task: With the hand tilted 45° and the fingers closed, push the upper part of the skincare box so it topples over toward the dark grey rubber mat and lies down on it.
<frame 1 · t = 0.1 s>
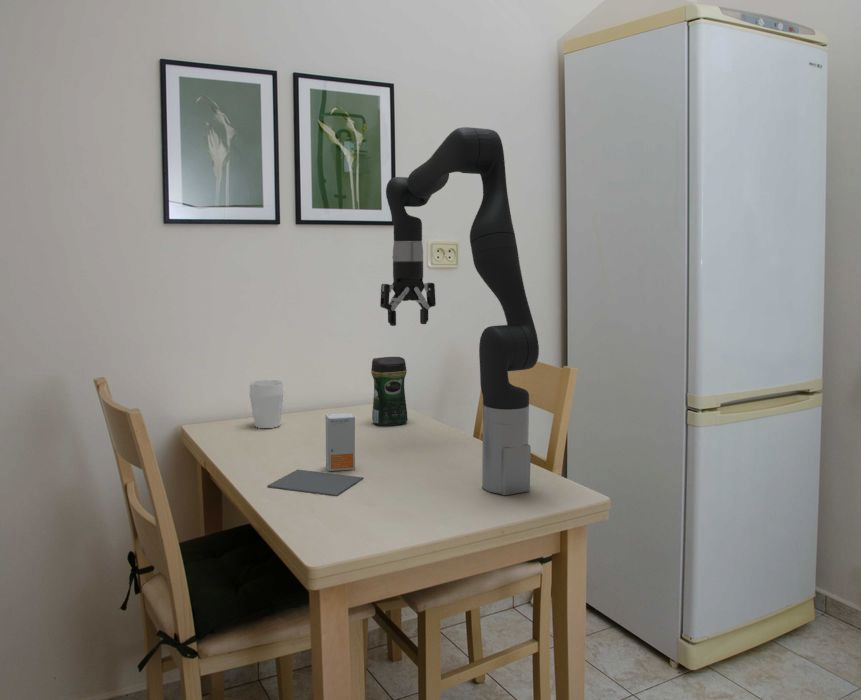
hand: (408, 324, 189), 29 cm above the table, tool pointing down, fingers open, 8 cm apart
coffee jar: (389, 423, 209), on the table
skincare box: (340, 469, 167), on the table
cup: (267, 426, 206), on the table
mat: (316, 482, 157), on the table
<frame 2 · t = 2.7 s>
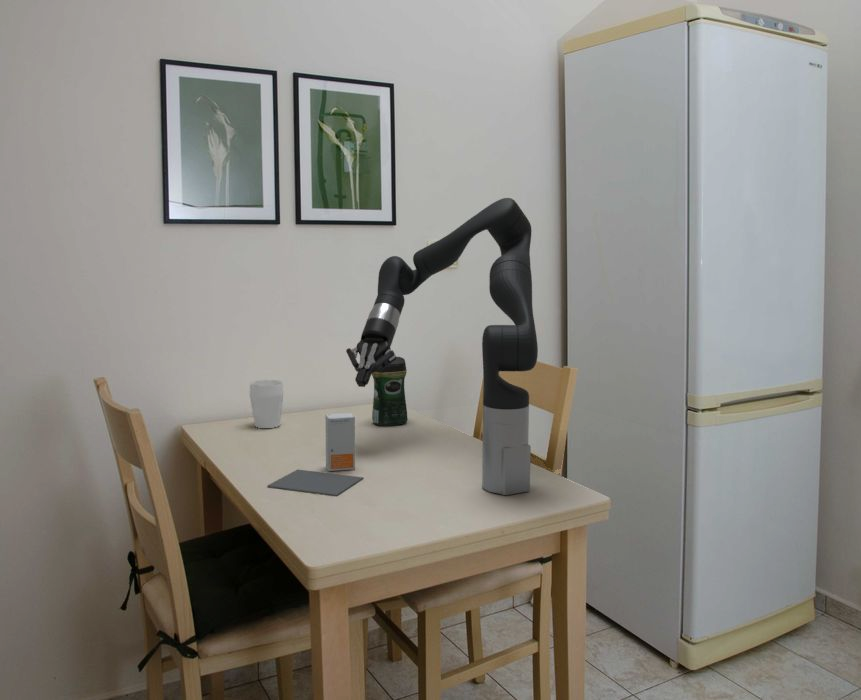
hand: (360, 384, 174), 17 cm above the table, tool tilted 45°, fingers closed
nothing on the table moved.
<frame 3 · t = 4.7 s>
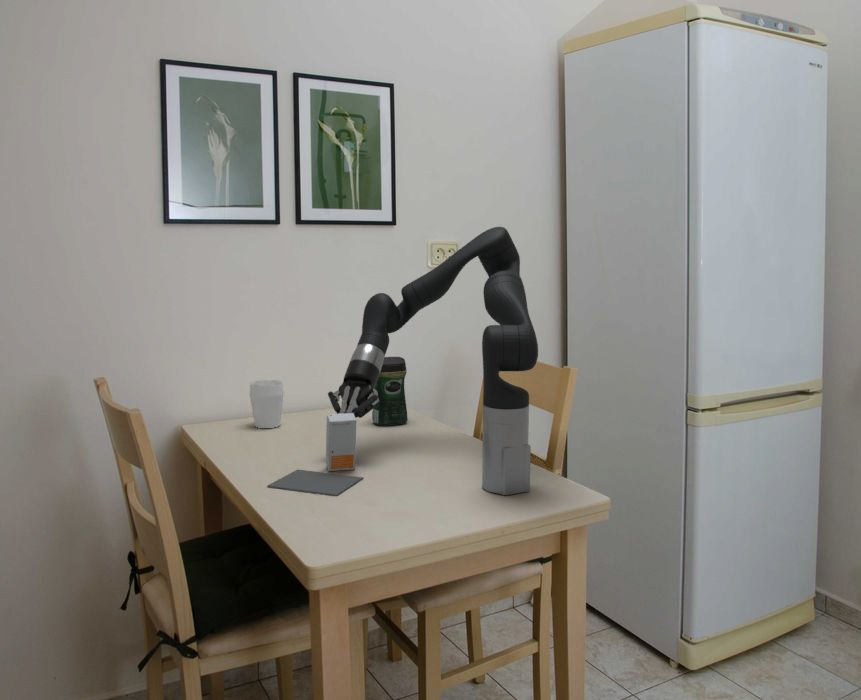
hand: (341, 430, 167), 8 cm above the table, tool tilted 45°, fingers closed
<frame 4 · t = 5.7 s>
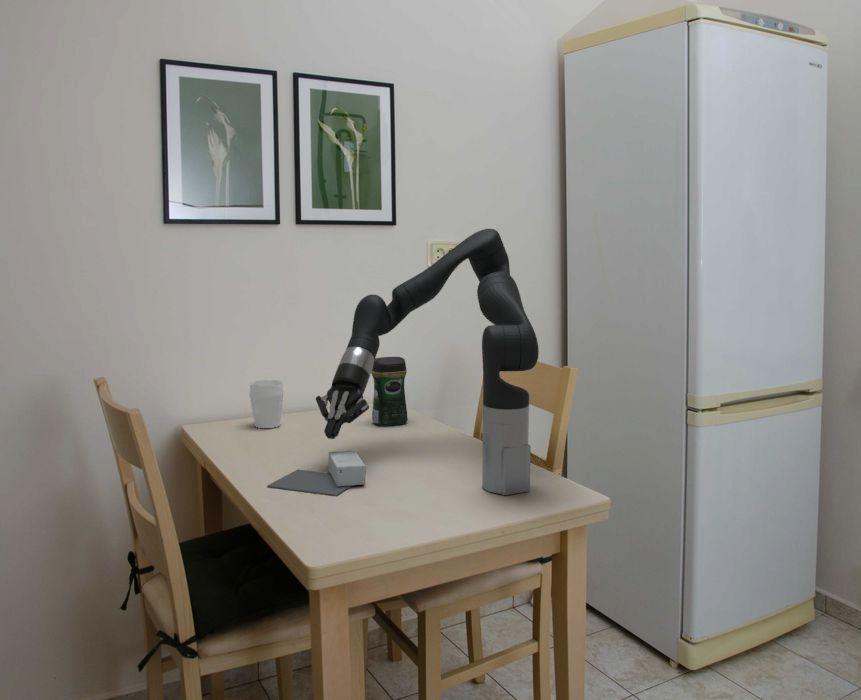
hand: (329, 436, 162), 8 cm above the table, tool tilted 45°, fingers closed
skincare box: (342, 459, 165), point 2 cm above the table, touching mat
everything else where it was.
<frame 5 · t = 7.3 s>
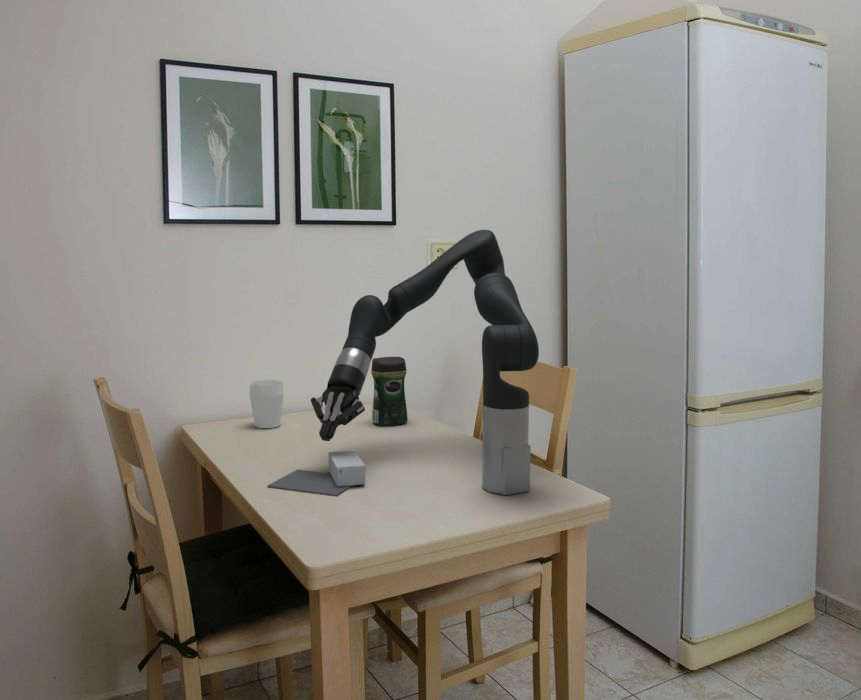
hand: (324, 439, 159), 8 cm above the table, tool tilted 45°, fingers closed
nothing on the table moved.
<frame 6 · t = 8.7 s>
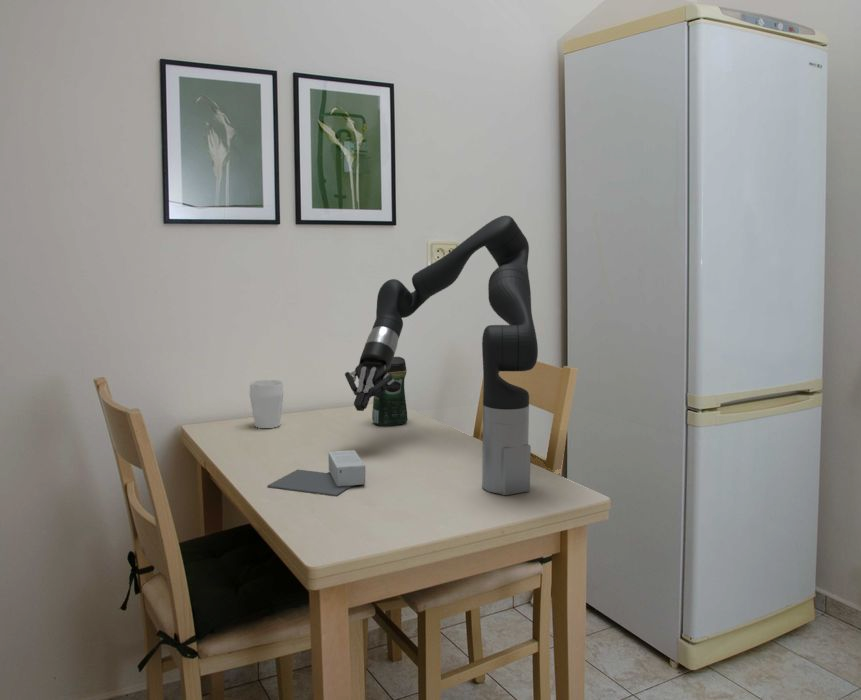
hand: (358, 408, 174), 11 cm above the table, tool tilted 45°, fingers closed
nothing on the table moved.
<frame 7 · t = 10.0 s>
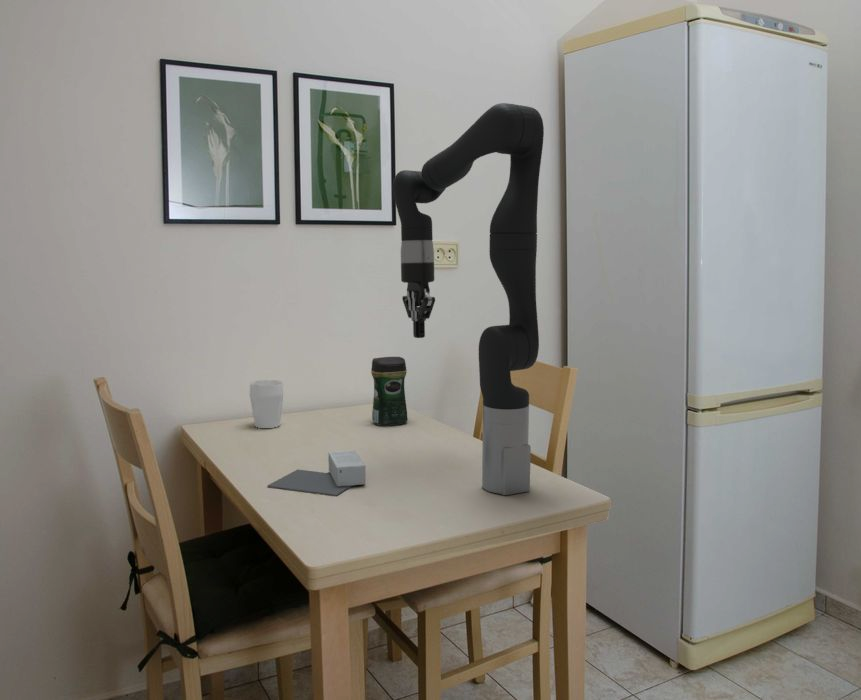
hand: (419, 337, 172), 28 cm above the table, tool pointing down, fingers closed
nothing on the table moved.
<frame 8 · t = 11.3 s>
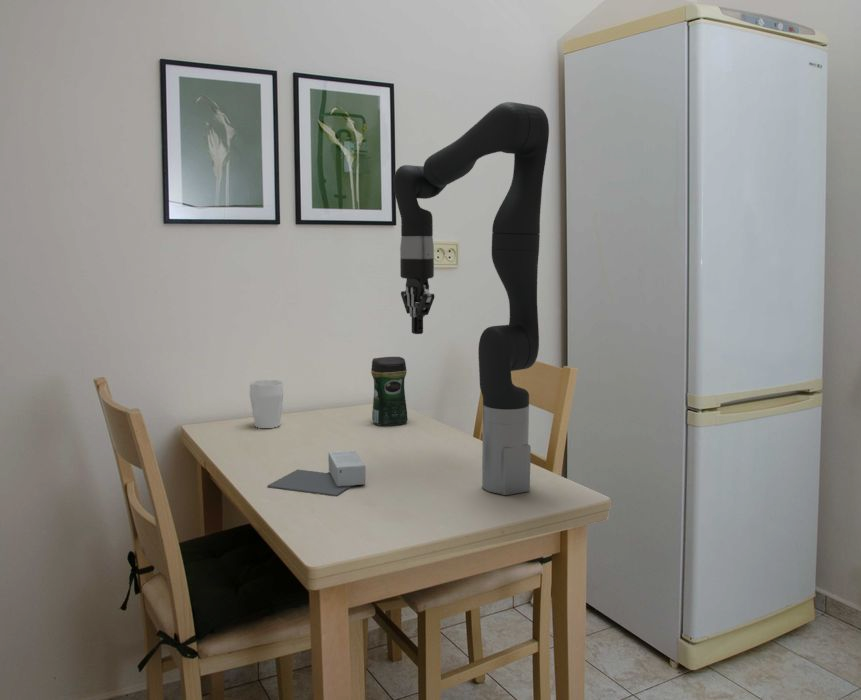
hand: (417, 333, 171), 29 cm above the table, tool pointing down, fingers closed
nothing on the table moved.
at the end: skincare box tilted 90°; skincare box 9.7 cm from the mat (horizontally); skincare box point 2.4 cm above the table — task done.
